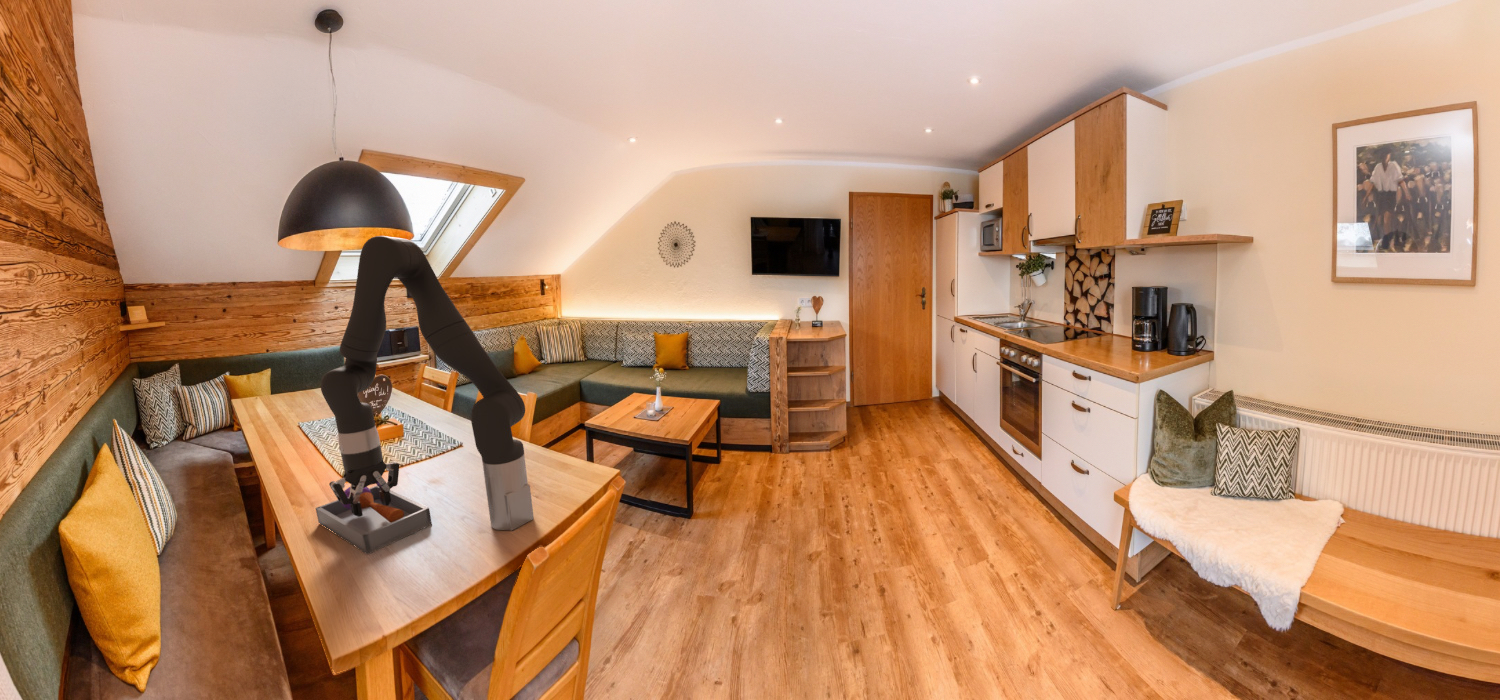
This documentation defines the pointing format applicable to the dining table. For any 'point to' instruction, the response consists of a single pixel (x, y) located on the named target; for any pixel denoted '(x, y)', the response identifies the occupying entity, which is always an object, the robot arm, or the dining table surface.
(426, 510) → the box
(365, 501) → the purple and brown maraca
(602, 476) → the dining table surface
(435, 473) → the dining table surface
